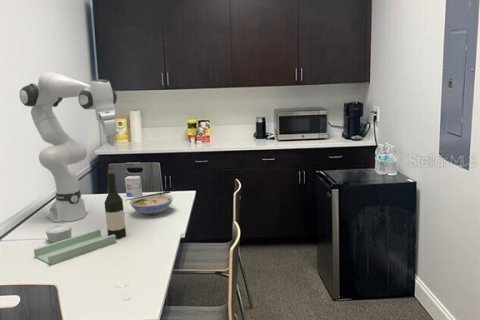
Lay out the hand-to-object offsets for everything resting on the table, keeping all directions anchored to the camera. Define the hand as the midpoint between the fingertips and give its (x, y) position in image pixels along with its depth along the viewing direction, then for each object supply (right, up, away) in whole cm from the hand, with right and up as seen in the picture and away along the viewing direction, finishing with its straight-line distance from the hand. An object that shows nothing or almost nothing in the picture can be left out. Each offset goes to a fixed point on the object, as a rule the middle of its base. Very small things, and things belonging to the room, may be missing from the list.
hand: (111, 144), depth 218 cm
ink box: (-5, -29, +69) cm, 75 cm away
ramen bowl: (+13, -35, +32) cm, 49 cm away
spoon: (+19, -52, -55) cm, 78 cm away
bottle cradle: (-10, -45, -16) cm, 49 cm away
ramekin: (-23, -44, -2) cm, 49 cm away
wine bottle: (+3, -42, -2) cm, 42 cm away
